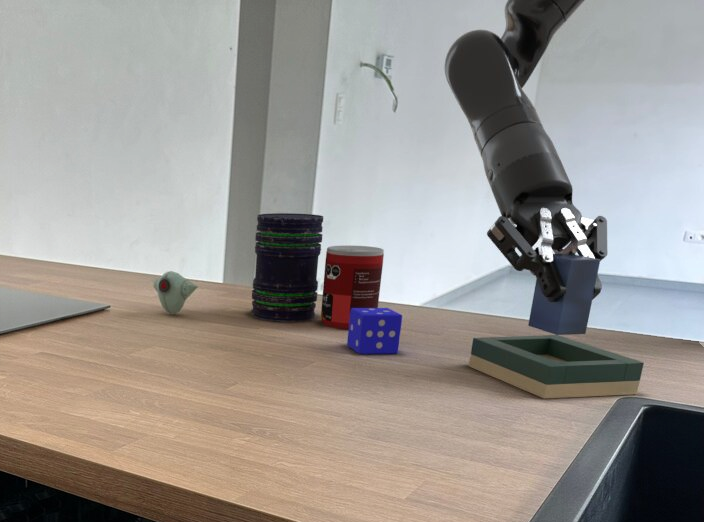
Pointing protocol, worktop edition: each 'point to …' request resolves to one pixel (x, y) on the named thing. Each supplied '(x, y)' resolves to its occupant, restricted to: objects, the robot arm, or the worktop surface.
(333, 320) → the canned food
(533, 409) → the worktop surface
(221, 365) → the worktop surface
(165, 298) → the robot head
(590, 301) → the block
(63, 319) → the worktop surface
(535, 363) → the tray
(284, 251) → the storage jar
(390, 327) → the die
